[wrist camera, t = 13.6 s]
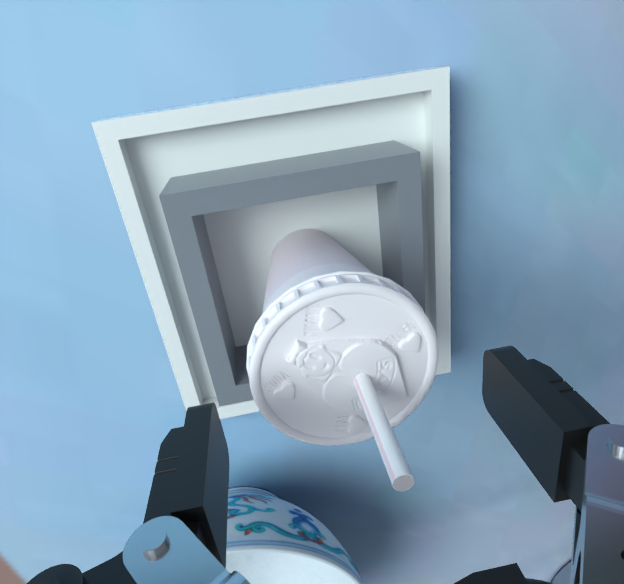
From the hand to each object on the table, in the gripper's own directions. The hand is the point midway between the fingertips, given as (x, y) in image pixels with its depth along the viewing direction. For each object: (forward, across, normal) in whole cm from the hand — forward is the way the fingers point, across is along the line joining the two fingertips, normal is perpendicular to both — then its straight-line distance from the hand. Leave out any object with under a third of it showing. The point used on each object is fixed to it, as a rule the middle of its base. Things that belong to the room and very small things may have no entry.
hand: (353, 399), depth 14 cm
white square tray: (+12, 0, 0) cm, 12 cm away
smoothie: (+11, 0, 0) cm, 11 cm away
